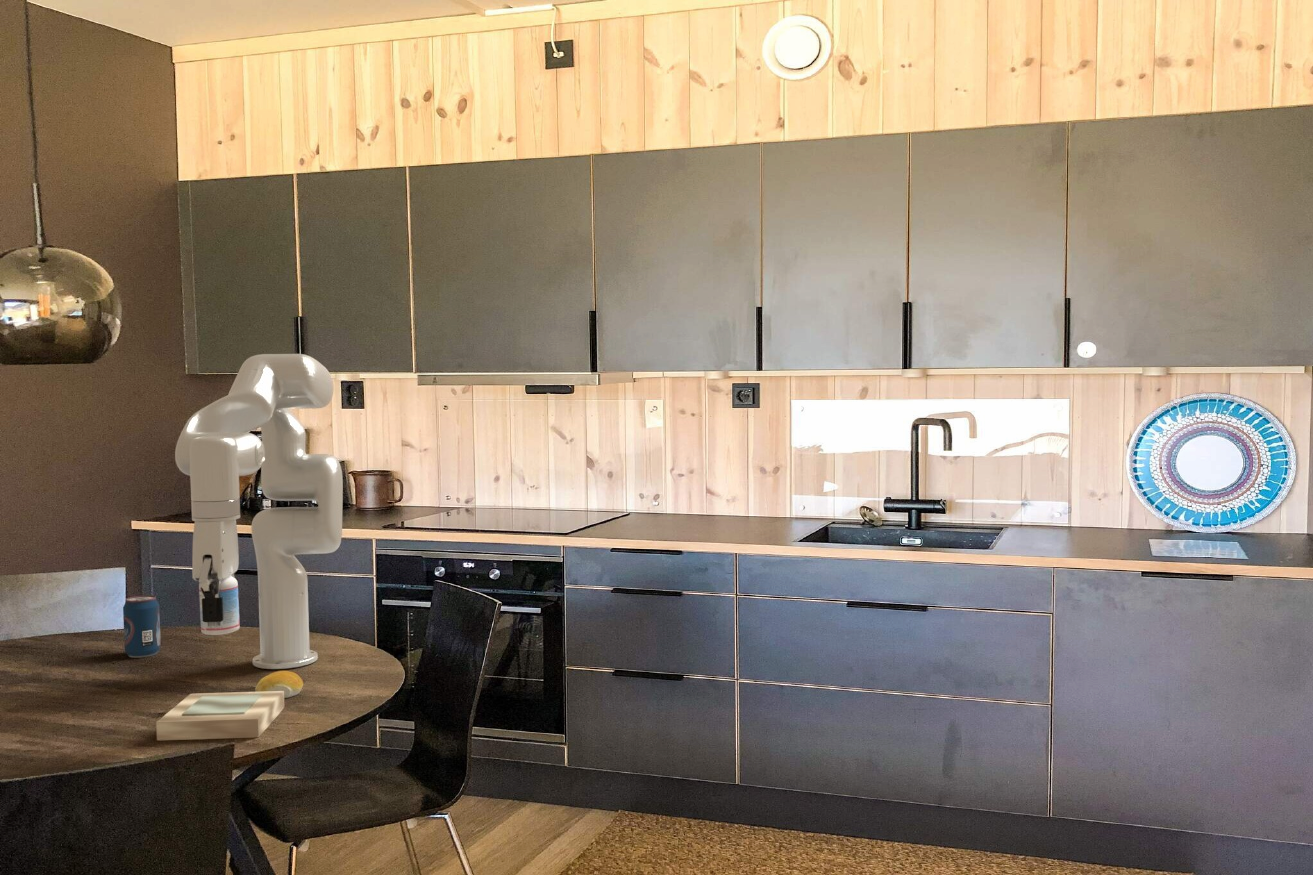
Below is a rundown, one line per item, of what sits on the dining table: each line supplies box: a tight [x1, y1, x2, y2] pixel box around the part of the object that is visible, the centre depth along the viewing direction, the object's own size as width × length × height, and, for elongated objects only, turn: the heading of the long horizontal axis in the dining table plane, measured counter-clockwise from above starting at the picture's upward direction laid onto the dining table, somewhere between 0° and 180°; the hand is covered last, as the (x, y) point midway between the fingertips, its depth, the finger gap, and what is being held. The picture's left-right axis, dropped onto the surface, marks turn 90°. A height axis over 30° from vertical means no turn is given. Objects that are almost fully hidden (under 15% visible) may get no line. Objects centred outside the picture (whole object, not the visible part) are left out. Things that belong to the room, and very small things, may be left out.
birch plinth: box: [155, 691, 285, 741], centre depth 189 cm, size 16×16×3 cm
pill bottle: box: [198, 566, 241, 636], centre depth 188 cm, size 6×6×11 cm
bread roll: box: [254, 670, 304, 699], centre depth 207 cm, size 8×9×4 cm
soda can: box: [122, 594, 162, 659], centre depth 236 cm, size 7×7×12 cm
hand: (219, 615), depth 188 cm, fingers closed on pill bottle, 6 cm apart
